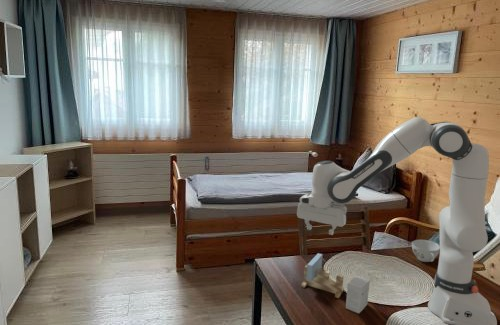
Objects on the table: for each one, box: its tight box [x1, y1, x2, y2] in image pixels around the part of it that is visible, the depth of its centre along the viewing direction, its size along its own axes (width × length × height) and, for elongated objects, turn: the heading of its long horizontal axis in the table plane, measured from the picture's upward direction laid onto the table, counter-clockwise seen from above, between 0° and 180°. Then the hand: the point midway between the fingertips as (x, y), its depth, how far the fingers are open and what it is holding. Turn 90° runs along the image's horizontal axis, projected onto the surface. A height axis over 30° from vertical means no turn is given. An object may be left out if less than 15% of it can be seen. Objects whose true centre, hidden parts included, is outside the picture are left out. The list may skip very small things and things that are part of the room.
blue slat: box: [306, 253, 323, 282], centre depth 155 cm, size 12×2×7 cm, turn 150°
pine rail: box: [300, 264, 345, 299], centre depth 154 cm, size 16×7×8 cm, turn 60°
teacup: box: [411, 239, 440, 263], centre depth 181 cm, size 15×12×8 cm
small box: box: [345, 275, 371, 314], centre depth 142 cm, size 8×6×10 cm
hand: (319, 231), depth 156 cm, fingers open, 8 cm apart
